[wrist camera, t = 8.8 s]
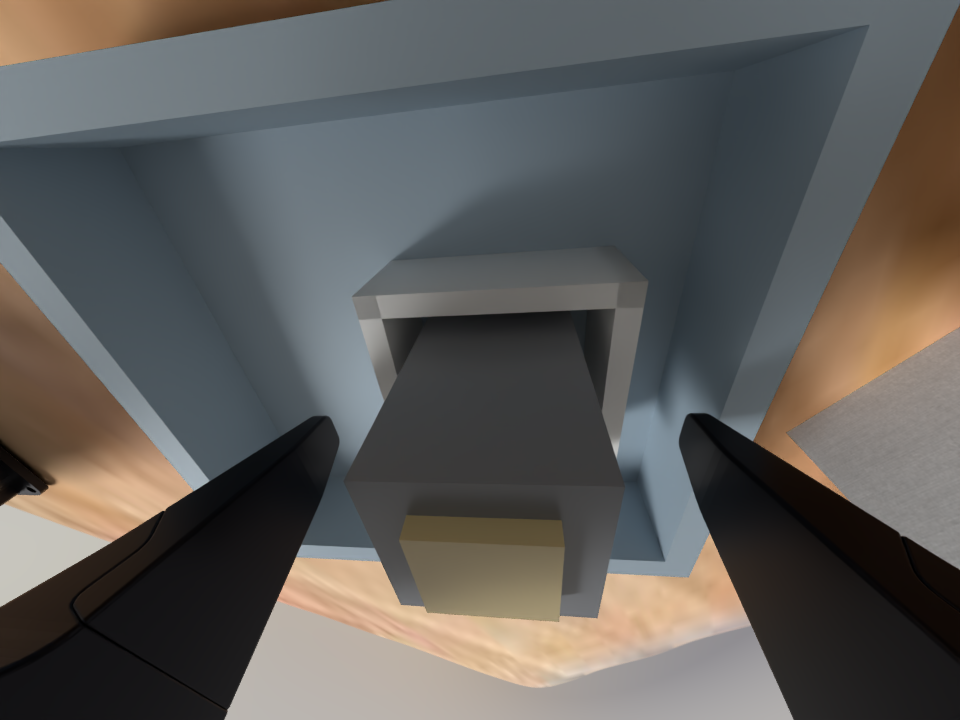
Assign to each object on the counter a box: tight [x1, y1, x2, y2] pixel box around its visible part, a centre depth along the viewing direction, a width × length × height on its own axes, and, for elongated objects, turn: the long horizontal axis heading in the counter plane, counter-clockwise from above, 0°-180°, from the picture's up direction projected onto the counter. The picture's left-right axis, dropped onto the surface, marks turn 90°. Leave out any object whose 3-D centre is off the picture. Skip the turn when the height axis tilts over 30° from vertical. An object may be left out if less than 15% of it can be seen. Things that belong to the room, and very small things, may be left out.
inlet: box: [352, 246, 649, 459], centre depth 11 cm, size 7×7×3 cm
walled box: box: [0, 0, 960, 577], centre depth 11 cm, size 16×18×4 cm
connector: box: [343, 311, 625, 622], centre depth 9 cm, size 4×4×7 cm
